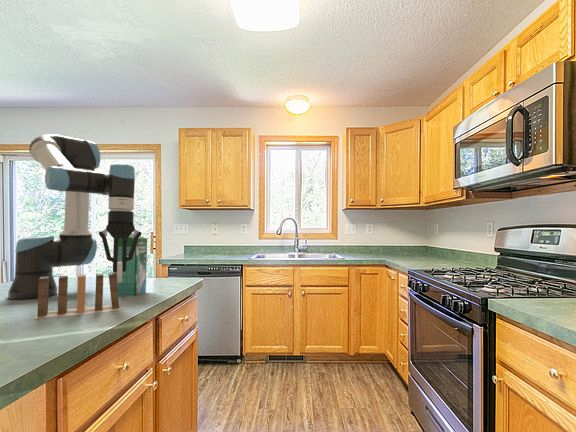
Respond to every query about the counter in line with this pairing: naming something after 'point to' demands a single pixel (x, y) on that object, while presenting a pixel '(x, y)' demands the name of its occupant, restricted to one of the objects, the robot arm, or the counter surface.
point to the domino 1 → (43, 296)
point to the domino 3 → (99, 292)
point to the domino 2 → (62, 295)
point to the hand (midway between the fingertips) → (119, 281)
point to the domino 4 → (113, 290)
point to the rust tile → (81, 293)
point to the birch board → (74, 312)
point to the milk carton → (133, 268)
